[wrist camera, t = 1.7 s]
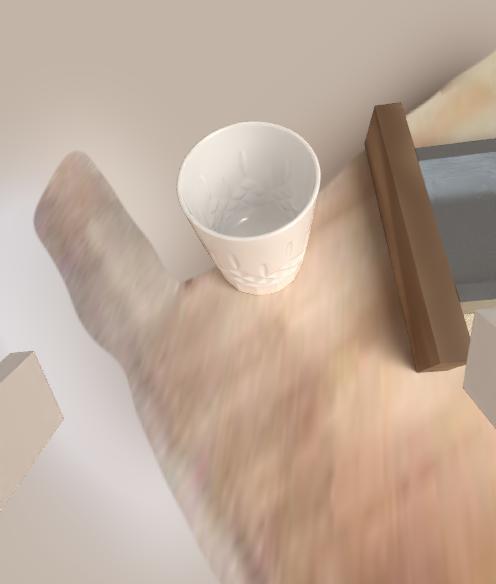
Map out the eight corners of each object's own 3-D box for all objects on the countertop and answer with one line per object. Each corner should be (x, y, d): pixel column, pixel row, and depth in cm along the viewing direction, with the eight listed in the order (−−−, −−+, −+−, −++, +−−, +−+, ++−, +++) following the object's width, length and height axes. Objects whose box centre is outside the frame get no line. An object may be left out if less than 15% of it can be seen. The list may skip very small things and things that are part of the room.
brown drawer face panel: (387, 140, 31) (401, 102, 27) (447, 370, 24) (476, 360, 20) (364, 143, 31) (374, 105, 27) (417, 372, 24) (440, 363, 20)
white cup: (199, 236, 30) (159, 151, 20) (285, 201, 30) (283, 101, 21) (233, 319, 27) (203, 263, 18) (327, 279, 27) (347, 204, 18)
